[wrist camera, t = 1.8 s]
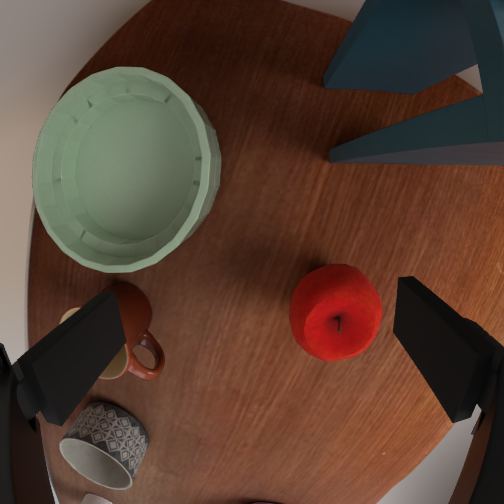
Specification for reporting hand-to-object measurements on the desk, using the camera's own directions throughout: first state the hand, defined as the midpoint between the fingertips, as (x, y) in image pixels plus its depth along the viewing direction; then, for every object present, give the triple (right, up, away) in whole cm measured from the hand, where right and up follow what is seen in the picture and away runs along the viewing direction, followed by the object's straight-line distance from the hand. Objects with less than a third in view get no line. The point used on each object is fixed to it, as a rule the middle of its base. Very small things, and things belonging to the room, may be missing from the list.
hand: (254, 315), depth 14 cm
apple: (+8, -1, +22) cm, 24 cm away
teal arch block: (+13, +17, +17) cm, 28 cm away
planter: (-23, -27, +31) cm, 47 cm away
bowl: (-14, +12, +20) cm, 27 cm away
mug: (-14, -5, +25) cm, 29 cm away
